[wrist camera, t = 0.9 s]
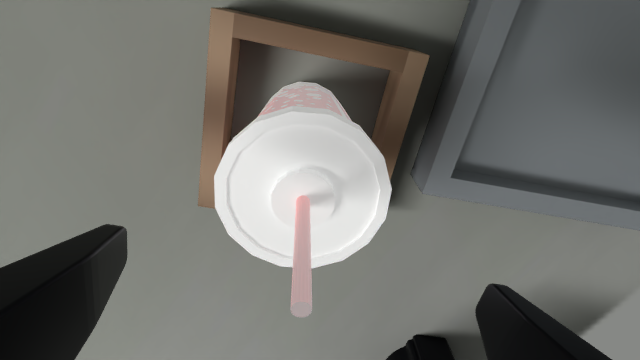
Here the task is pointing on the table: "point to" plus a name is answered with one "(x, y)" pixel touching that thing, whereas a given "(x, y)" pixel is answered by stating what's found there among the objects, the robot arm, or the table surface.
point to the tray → (540, 111)
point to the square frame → (241, 25)
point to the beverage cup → (302, 186)
